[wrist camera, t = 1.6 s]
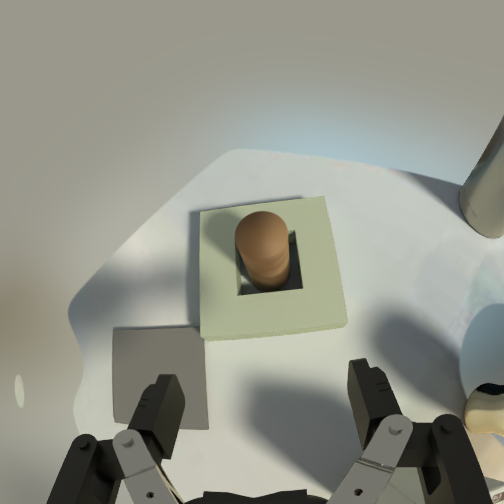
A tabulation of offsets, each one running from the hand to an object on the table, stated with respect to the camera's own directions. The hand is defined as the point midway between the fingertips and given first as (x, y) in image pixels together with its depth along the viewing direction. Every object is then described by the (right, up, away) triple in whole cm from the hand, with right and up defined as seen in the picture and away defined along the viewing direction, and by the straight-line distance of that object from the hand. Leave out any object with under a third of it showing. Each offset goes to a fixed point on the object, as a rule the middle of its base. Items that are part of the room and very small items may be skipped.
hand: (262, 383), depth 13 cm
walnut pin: (+1, +4, +20) cm, 21 cm away
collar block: (+1, +4, +20) cm, 21 cm away
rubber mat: (-11, -8, +17) cm, 21 cm away
